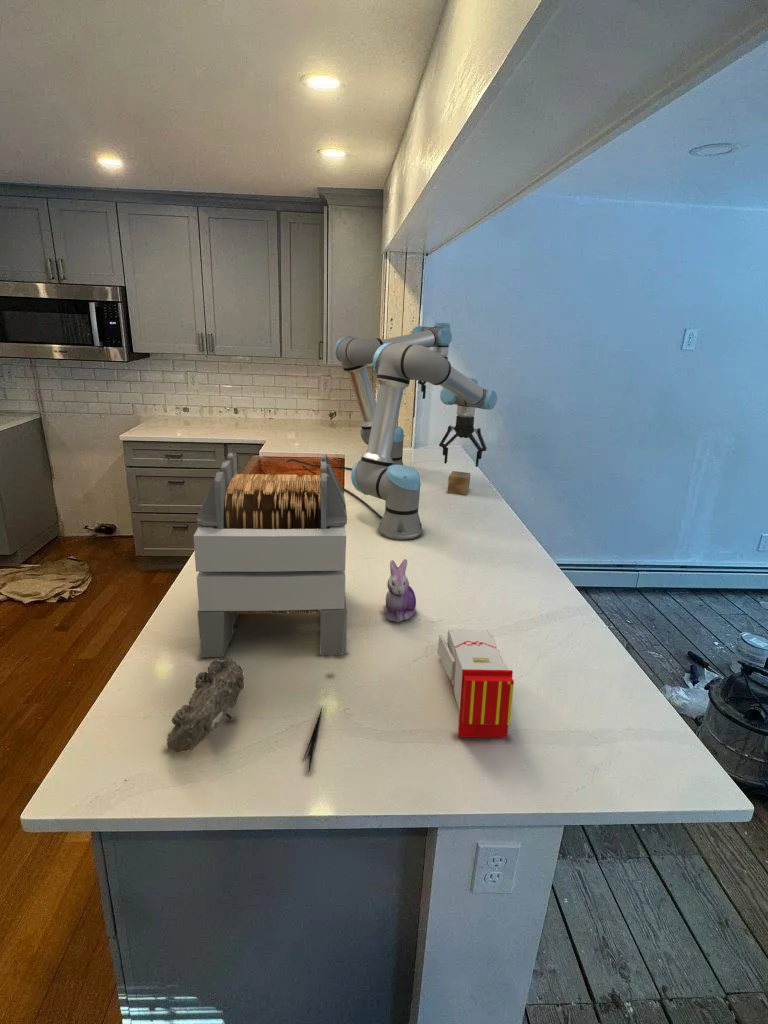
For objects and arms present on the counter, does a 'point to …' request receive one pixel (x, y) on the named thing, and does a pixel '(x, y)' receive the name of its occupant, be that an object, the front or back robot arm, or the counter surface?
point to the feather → (313, 740)
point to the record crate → (271, 552)
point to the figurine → (399, 594)
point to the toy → (478, 682)
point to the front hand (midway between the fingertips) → (461, 464)
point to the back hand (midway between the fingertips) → (437, 399)
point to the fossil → (206, 705)
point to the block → (458, 483)
